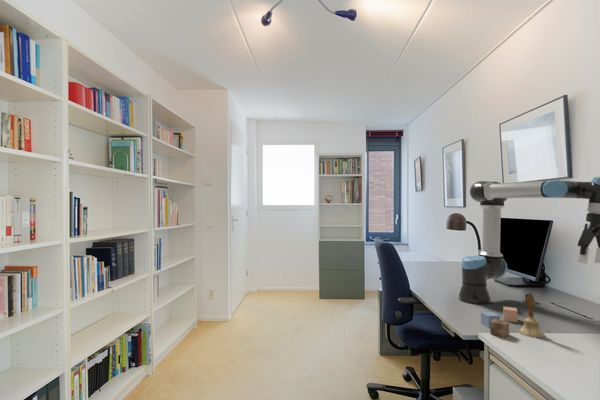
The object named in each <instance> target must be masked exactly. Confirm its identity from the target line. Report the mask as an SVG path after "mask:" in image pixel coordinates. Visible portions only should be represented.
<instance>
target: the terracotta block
mask: <svg viewBox="0 0 600 400" xmlns="http://www.w3.org/2000/svg"><path fill="white" fill-rule="evenodd" d="M502 308H503V309H502V310H503V312H502V313H503V314H502V315H503V321H506V322H509V323H510V322H511V323H518V308H517V307H509V306H502Z"/></svg>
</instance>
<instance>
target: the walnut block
mask: <svg viewBox="0 0 600 400" xmlns="http://www.w3.org/2000/svg"><path fill="white" fill-rule="evenodd" d="M489 329H490V331H489V332H490V335H492V336H495V337H500V338H503V337H504V338H503V339H505V338H506V336H507V337H508V336H510V321H504V320H502V319H500V320H498V319H494V320H492V321H490V328H489Z"/></svg>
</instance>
